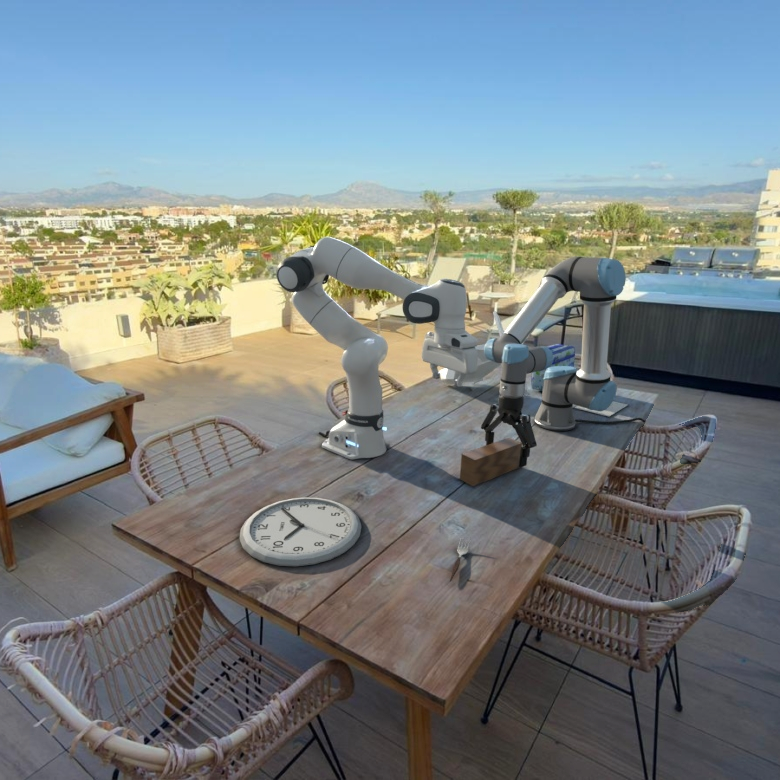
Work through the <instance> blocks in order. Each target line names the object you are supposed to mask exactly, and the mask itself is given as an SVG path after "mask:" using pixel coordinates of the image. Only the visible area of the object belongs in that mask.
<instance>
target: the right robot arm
mask: <svg viewBox="0 0 780 780" xmlns="http://www.w3.org/2000/svg"><path fill="white" fill-rule="evenodd" d="M626 276H627V275H626V269H625V267H624V265H623V264H622V262H621V261H620V260H618V259H615V258H609V257H597V256H595V257H593V256H571V257H568V258H567V259H564V260H562V261H560V262H559V263H557V264H556V265H554V267H552V268H551V269H550V270H549V271H547V273H546V274H544V276H543V277H542V278H541V279H540V286H539V287H538V288H537V290H536V291H535V292H534V294H533V295H532V296H531V297H530V298H529V300H528V301H527V302H526V303H525V305H524V306H523V307H522V308H521V310H520V311H519V312H518V314H517V315H516V316H515V317H514V319H513V320H512V321H511V322H510V323H509V325H508V326H507V328H506V329H505V330H503V331H504V333H503V334H502V335H501V337H500V336H499V338H490V339H488V340H487V341H486V342H485V344H486V345H485V347H484V354H485V356H486V358H487V359H488V360H491V361H494V362H496V363H501V369H500V371H501V372H500V381H499V391H498V392H499V395H498V402H497V403H494V404H491V405H490V407H489V411H488V413H487V415H486V417H485V418H484V420H483V422H482V424H481V425H480V429H481V430H484V433H485V436H484V441H485V446H486V445H489V444H492V443H494V442H495V429H496V428H497V427H498V426H499V425H501V424H502V423H503V424H507V425H509V426H511V427H512V428H513V429H514V430H515V433H516V434H517V436H518V439H519V440H520V441H519V442H521V443H522V447H521V451H520V461H519V468H524V467H526V466H527V464H528V458H529V457H530V455H531V454H530V453H531V449H533V448H535V447H537V446H538V444H537V441H536V437H535V433H534V429H533V426H532V422H531V414H523V412H522V410H523V408H524V402H525V397H524V396H525V395H526V394H525V383H526V384H527V375H528V374H532V372H537V371H542V370H544V369H546V371H545V374H544V378H543V379H544V381H543V391H541V392H542V394H541V402H540V405H539V407H538V410H537V411H536V413H535V417H534V424H535V425H536V426H537V427H539V428H542V429H544V430H549V431H556V432H567V431H572V430H574V429H575V428H576V423H586V424H599V425H600V424H601V425H613V424H614V425H615V424H616V425H617V424H622V423H632V422H635V421H641V422H643V423H646V422H647V421H646V420H645V419H644V418H642V417H635V418H630V419H622V420H621V419H620V420H614V421H613V420H611V421H610V420H609V421H608V420H607V421H605V420H604V421H602V420H589V419H587V420H586V419H576V418H575V417H576V416H575V413H574V407H573V405H574V406H581V407H584V408H587V409H590V410H595V411H604V410H606V409H607V408H608V407H609V406H610V405H611V403H612V402H613V401H614V400H615V398H616V394H617V390H618V385H617V384H616V382H615V381H613V380H611V375H612V374H611V372H610V371H609V370H608V369H607V367H608V354H609V353H608V352H609V339H610V326H611V324H610V323H611V314H612V313H611V311H612V310H611V309H612V304H613V303H614V302H615V301H617V296H619V295H621V294H622V292H623V290H624V287H625V285H626ZM569 292H578V293H579V300H580V302H582V304H583V314H582V315H583V317H582V318H583V319H582V337H581V355H580V356H581V358H580V368H579V369H578V368H577V367H576V366H574V367H572V366H554V367H550V366H551V365H552V363H553V354H552V352H551V350H550V349H549V348H547V347H548V346H544V345H542V346H540V345H537V346H530V345H527V344H525V342H526V341H527V340H528V339H529V337H530V336H531V335H532V334H533V332H534V331H535V330H536V328H537V327H538V326H539V325H540V323H541V322H542V321H543V319H544V318H545V317H546V315H547V314H548V313H549V311H551V309H552V308H553V307H554V305H555V304H556V303H557V302H558V300H559V299H563V298H564V297H565V296H566V294H568V293H569ZM549 367H550V368H549ZM497 413H498V415H497ZM496 415H497V417H496ZM494 418H495V420H494Z"/></svg>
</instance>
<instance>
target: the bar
mask: <svg viewBox="0 0 780 780" xmlns="http://www.w3.org/2000/svg"><path fill="white" fill-rule="evenodd" d="M521 447H523V445H522V443H521V441H519V440H516V439H514V438H511V437H507V438H503V439H501V440H497V441H494V442H493V443H492V444H489V445H486V444H485V445H483V446H480V447H477V448H474V449H472V450H469V451H466V452H463V453H461V456H460V457H461V458H460V472H459V473H460V474H459V480H460V481H461V482H464V483H466V484H467V485H470V486H471V487H475V486H477V485H480V484H482V483H486V482H487V481H490V480H492V479H495V478H497V477H500V476H502V475H504V474H507V473H509V472H511V471H512V472H513V471H515V470H517V469H519V468H520V467H519V461H520V451H521Z"/></svg>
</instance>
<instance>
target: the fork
mask: <svg viewBox="0 0 780 780" xmlns="http://www.w3.org/2000/svg"><path fill="white" fill-rule="evenodd" d="M465 538H466V540H465ZM462 539H463V540H462ZM468 539H469V541H468ZM470 545H471V537H469V538H468V536H464V537H463V535H461V536H460V540H459V543H458V545H457V549H456V550H457V553H458V557H457V558H456V560H455V562H454V564H453V566H452V571H451V575H450V577H449V582H451V581H452V580H453V578H454V576H455V575H456V573H457V571H458V569H459V567H460V563H461V558H462V556H465V555H468V553H469V551H470Z"/></svg>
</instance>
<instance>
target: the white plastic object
mask: <svg viewBox="0 0 780 780" xmlns="http://www.w3.org/2000/svg"><path fill="white" fill-rule="evenodd" d="M492 315H493V319H494V321H495V324H496V325H495V326H496V328H497V332H498V335H499V338H500V337H501V335H502V334H503V333H504V331H505V330H504V328H503V325H502V321H501V318H500V315H499V314H498V312H497V311H496V310H495V311H492ZM485 345H486V343H483V344H479V345H477V346H475V348H476V349H477V352H478V364H477V370H476V372H475V373H473V374H468V375H466V376H465V378H464V379H463V380H462V384H467V383H468V384H469V383H473V384H477V383H480V382H482V381H484V378H485V377H486V376H487V375H489V374H490V373H492V372H494V371H495V370H496V369H497V368H499V367H500V366H502V364H501V363H496V362H494V361H491V360H488V359H487V358H486V356H485V354H484V347H485ZM438 372H439V373H440V381H442V383H443V384H444V385H445V386H449V385H454V384H455V380H457V379H458V377H459V375H458V372H457V371H453V370H450V369H447V368H444V367H443V368H442V369H440V370H439V369H438ZM528 387H529V386H528V384H527V382H526V383H525V394H524V395H525V396H526V397H528V396H531V395H530V390H529V388H528Z"/></svg>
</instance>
